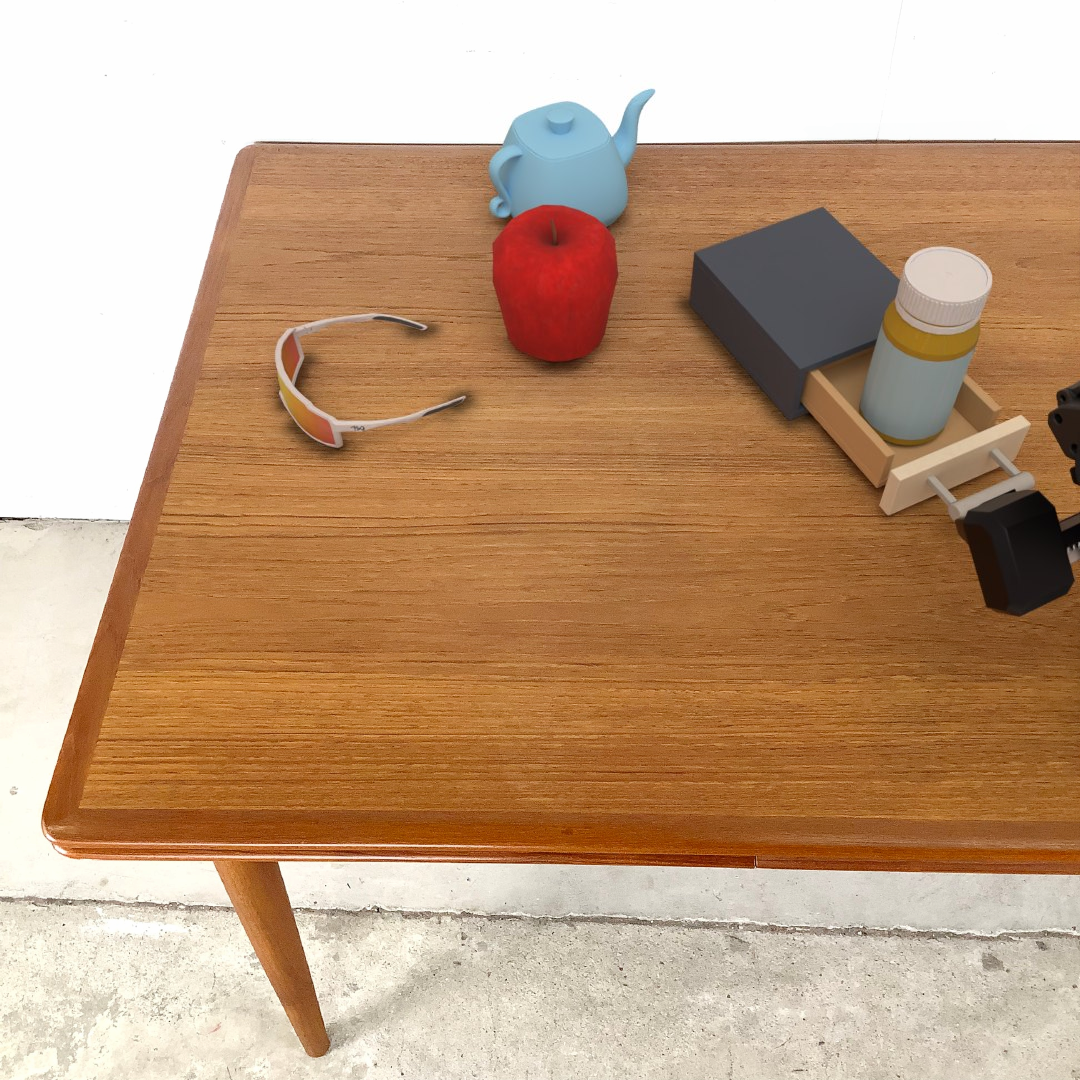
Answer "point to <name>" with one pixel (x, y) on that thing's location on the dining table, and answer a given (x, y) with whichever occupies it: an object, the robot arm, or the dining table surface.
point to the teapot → (566, 161)
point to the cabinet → (792, 300)
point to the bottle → (925, 345)
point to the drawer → (923, 467)
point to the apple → (555, 281)
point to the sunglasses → (303, 410)
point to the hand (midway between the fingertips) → (1016, 500)
